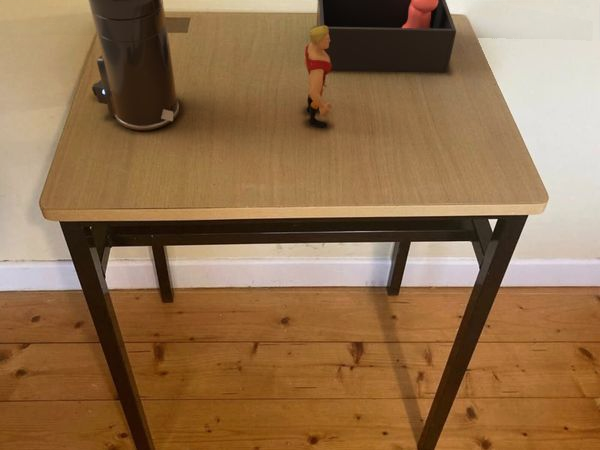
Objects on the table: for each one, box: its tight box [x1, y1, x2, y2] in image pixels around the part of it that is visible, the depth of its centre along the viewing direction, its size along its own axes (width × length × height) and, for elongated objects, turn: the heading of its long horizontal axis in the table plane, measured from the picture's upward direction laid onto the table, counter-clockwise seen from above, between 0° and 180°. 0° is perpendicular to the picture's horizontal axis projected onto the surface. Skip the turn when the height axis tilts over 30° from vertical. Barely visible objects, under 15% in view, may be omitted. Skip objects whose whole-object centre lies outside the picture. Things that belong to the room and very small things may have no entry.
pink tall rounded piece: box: [402, 0, 438, 29], centre depth 101 cm, size 5×5×15 cm
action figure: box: [303, 25, 333, 128], centre depth 88 cm, size 10×4×15 cm, turn 6°
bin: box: [316, 0, 457, 73], centre depth 104 cm, size 21×13×8 cm, turn 91°
